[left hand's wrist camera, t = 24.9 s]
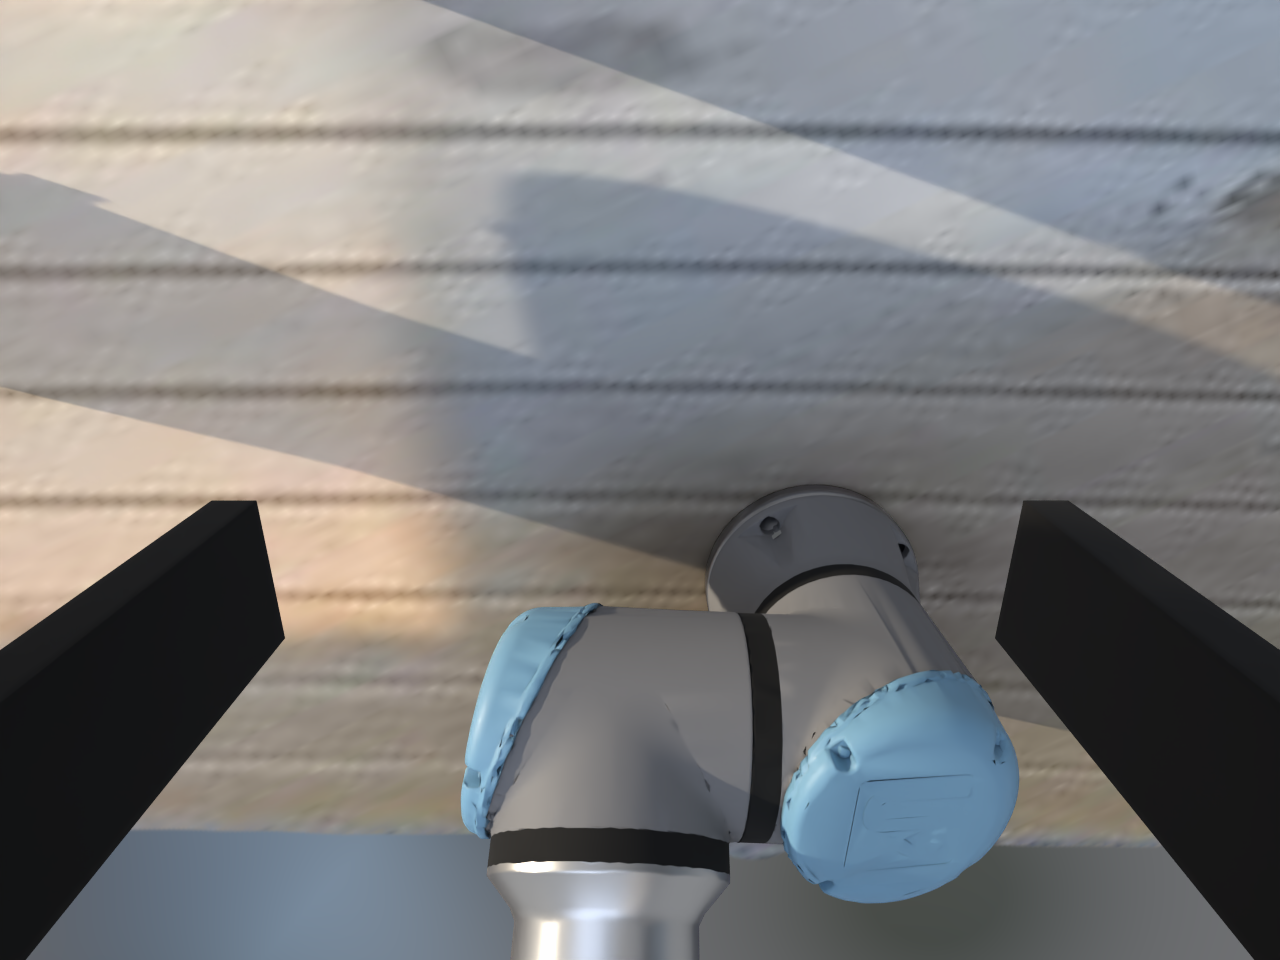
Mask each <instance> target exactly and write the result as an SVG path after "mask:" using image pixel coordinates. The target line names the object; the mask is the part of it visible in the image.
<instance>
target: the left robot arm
mask: <svg viewBox="0 0 1280 960" xmlns="http://www.w3.org/2000/svg"><path fill="white" fill-rule="evenodd" d="M705 592H706V599H707V605H708V610H709V611H689V610H667V609H647V608H627V607H608V606H603V605H601V604H600V603H592V604H589V605H586V606H585V607H539V608H534V609H531V610H528V611H526V612H524V613H522V614H521V615H519V616H518V617H517V618H516V619H515V620H514V621H512V623H511V624H510V625H509V627H508V628H507V629H506V631H505V632H504V633H503V635H502V637H501V638H500V640H499V642H498V644H497V646H496V648H495V651H494V653H493V655H492V657H491V660H490V663H489V665H488V668H487V671H486V674H485V677H484V680H483V683H482V686H481V689H480V692H479V696H478V700H477V703H476V707H475V711H474V715H473V720H472V724H471V728H470V733H469V738H468V743H467V749H466V755H465V764H466V765H467V768H466V771H465V775H464V780H463V784H462V791H461V812H462V818H463V822H464V824H465V825H466V827H467V828H468V830H469V831H470V832H473V833H475V834H477V835H478V836H479V837H480V838H481V839H490V838H491V843H490V851H489V859H488V868H487V877H488V878H489V879H490V881H491V882H492V884H493V885H494V886H495V888H496V889H497V890H498V892H499V893H500V895H501V896H502V897H503V899H504V900H505V902H506V903H507V904H508V906H509V907H510V910H511V912H512V915H513V918H514V930H513V941H512V950H511V960H699V925H700V923H701V921H702V919H703V917H704V914H705V913H706V912H707V911H708V909H709V908H710V907H711V906H712V904H713V903H714V902H715V901H716V900H717V898H718V897H719V896H720V895H721V894H722V892H723V891H724V890H725V889H726V888H727V886H728V885H729V884H730V864H729V843H730V842H738V843H740V842H744V843H769V844H783V845H784V850H785V851H786V852H787V853H788V857H789V858H790V859H791V860H792V862H793V864H794V865H795V866H796V868H797V869H798V871H799V872H800V873H801V874H802V876H803V877H804V878H805V879H806V880H807V881H809V882H810V883H812V884H819V886H820V888H821V890H822V891H823V892H824V893H826V894H828V895H831V896H833V897H836V898H838V899H842V900H846V901H854V902H859V903H886V902H894V901H900V900H904V899H909V898H912V897H916V896H919V895H921V894H924V893H927V892H930V891H932V890H934V889H937V888H939V887H940V886H942V885H944V884H946V883H948V882H950V881H952V880H954V879H955V878H957V877H958V876H959V874H960V873H961V872H962V871H964V870H965V869H966V868H968V867H969V866H971V865H973V864H974V863H976V862H977V861H979V860H980V859H981V858H982V857H983V856H984V855H985V854H986V853H987V852H988V851H989V850H990V849H991V847H992V846H993V845H994V844H995V842H996V841H997V840H998V838H999V837H1000V836H1001V834H1002V832H1003V831H1004V829H1005V827H1006V825H1007V823H1008V821H1009V820H1010V817H1011V815H1012V813H1013V810H1014V807H1015V803H1016V800H1017V795H1018V788H1019V769H1018V761H1017V757H1016V753H1015V750H1014V747H1013V745H1012V742H1011V740H1010V738H1009V736H1008V735H1007V733H1006V732H1005V730H1004V728H1003V726H1002V724H1001V722H1000V721H999V719H998V717H997V715H996V713H995V711H994V707H993V704H992V702H991V699H990V698H989V696H988V694H987V692H986V691H985V690H983V689H982V687H981V685H979V684H978V683H977V682H976V680H975V679H974V678H973V676H972V675H971V673H970V672H969V671H968V669H967V668H966V667H965V665H964V664H963V662H962V661H961V660H960V658H959V657H958V655H957V654H956V653H955V651H954V650H953V649H952V647H951V646H950V644H949V643H948V642H947V640H946V639H945V638H944V636H943V635H942V633H941V632H940V631H939V629H938V628H937V626H936V625H935V624H934V622H933V621H932V620H931V618H930V617H929V615H928V614H927V613H926V611H925V610H924V608H923V607H922V606H921V605H920V592H919V577H918V566H917V562H916V557H915V554H914V552H913V549H912V547H911V545H910V543H909V541H908V539H907V537H906V536H905V534H904V533H903V531H902V530H901V529H900V528H899V526H898V525H897V524H896V523H895V521H894V520H893V519H892V518H891V516H890V515H889V514H888V513H887V512H886V511H885V510H884V509H883V508H881V507H880V506H879V505H878V504H876V503H875V502H873V501H872V500H870V499H868V498H867V497H865V496H863V495H861V494H859V493H856V492H853V491H851V490H847V489H844V488H840V487H834V486H826V485H806V486H797V487H792V488H787V489H784V490H781V491H777V492H775V493H772V494H770V495H767V496H765V497H763V498H761V499H759V500H757V501H756V502H754V503H752V504H751V505H749V506H748V507H746V508H745V509H744V510H743V511H741V512H740V513H739V514H738V515H737V516H736V517H734V518H733V519H732V520H731V522H730V523H729V524H728V525H727V526H726V527H725V529H724V530H723V531H722V533H721V534H720V535H719V537H718V539H717V541H716V542H715V544H714V546H713V548H712V551H711V553H710V556H709V559H708V563H707V567H706V574H705ZM284 639H285V636H284V631H283V626H282V621H281V617H280V612H279V607H278V602H277V597H276V593H275V588H274V583H273V578H272V573H271V568H270V564H269V559H268V554H267V549H266V544H265V539H264V535H263V530H262V525H261V520H260V515H259V510H258V506H257V501H211V502H209V503H208V504H206V505H205V506H203V507H202V508H201V509H199V510H198V511H196V512H195V513H194V514H192V515H191V516H189V517H188V518H186V519H185V520H184V521H182V522H181V523H179V524H178V525H177V526H175V527H174V528H172V529H171V530H170V531H168V532H167V533H165V534H164V535H162V536H161V537H160V538H158V539H157V540H155V541H154V542H153V543H151V544H150V545H148V546H147V547H145V548H144V549H143V550H141V551H140V552H138V553H137V554H136V555H134V556H133V557H131V558H130V559H128V560H127V561H126V562H124V563H123V564H121V565H120V566H119V567H117V568H116V569H114V570H113V571H112V572H110V573H109V574H107V575H106V576H104V577H103V578H102V579H100V580H99V581H97V582H96V583H95V584H93V585H92V586H90V587H89V588H87V589H86V590H85V591H83V592H82V593H80V594H79V595H78V596H76V597H75V598H73V599H72V600H70V601H69V602H68V603H66V604H65V605H63V606H62V607H61V608H59V609H58V610H56V611H55V612H54V613H52V614H51V615H49V616H48V617H46V618H45V619H44V620H42V621H41V622H39V623H38V624H37V625H35V626H34V627H32V628H31V629H29V630H28V631H27V632H25V633H24V634H22V635H21V636H20V637H18V638H17V639H15V640H14V641H13V642H11V643H10V644H8V645H7V646H5V647H4V648H3V649H1V650H0V960H26V959H27V957H28V956H29V955H30V954H31V952H32V951H33V950H34V949H35V948H36V946H37V945H38V944H39V943H40V941H41V940H42V939H43V938H44V936H45V935H46V934H47V933H48V931H49V930H50V929H51V928H52V926H53V925H54V924H55V923H56V921H57V920H58V919H59V918H60V917H61V915H62V914H63V913H64V912H65V910H66V909H67V908H68V907H69V905H70V904H71V903H72V902H73V900H74V899H75V898H76V897H77V895H78V894H79V893H80V892H81V891H82V889H83V888H84V887H85V886H86V884H87V883H88V882H89V881H90V879H91V878H92V877H93V876H94V874H95V873H96V872H97V871H98V869H99V868H100V867H101V866H102V864H103V863H104V862H105V861H106V859H107V858H108V857H109V856H110V855H111V853H112V852H113V851H114V850H115V848H116V847H117V846H118V845H119V843H120V842H121V841H122V840H123V838H124V837H125V836H126V835H127V833H128V832H129V831H130V830H131V828H132V827H133V826H134V825H135V824H136V822H137V821H138V820H139V819H140V817H141V816H142V815H143V814H144V812H145V811H146V810H147V809H148V807H149V806H150V805H151V804H152V802H153V801H154V800H155V799H156V797H157V796H158V795H159V794H160V793H161V791H162V790H163V789H164V788H165V786H166V785H167V784H168V783H169V781H170V780H171V779H172V778H173V776H174V775H175V774H176V773H177V771H178V770H179V769H180V768H181V766H182V765H183V764H184V763H185V762H186V760H187V759H188V758H189V757H190V755H191V754H192V753H193V752H194V750H195V749H196V748H197V747H198V745H199V744H200V743H201V742H202V740H203V739H204V738H205V737H206V735H207V734H208V733H209V732H210V731H211V729H212V728H213V727H214V726H215V724H216V723H217V722H218V721H219V719H220V718H221V717H222V716H223V714H224V713H225V712H226V711H227V709H228V708H229V707H230V706H231V704H232V703H233V702H234V701H235V700H236V698H237V697H238V696H239V695H240V693H241V692H242V691H243V690H244V688H245V687H246V686H247V685H248V683H249V682H250V681H251V680H252V678H253V677H254V676H255V675H256V673H257V672H258V671H259V670H260V669H261V667H262V666H263V665H264V664H265V662H266V661H267V660H268V659H269V657H270V656H271V655H272V654H273V652H274V651H275V650H276V649H277V647H278V646H279V645H280V644H281V642H282V641H283V640H284ZM995 639H996V640H997V641H998V642H999V644H1000V645H1001V646H1002V647H1003V649H1004V650H1005V651H1006V652H1007V654H1008V655H1009V656H1010V657H1011V659H1012V660H1013V661H1014V662H1015V664H1016V665H1017V666H1018V667H1019V669H1020V670H1021V671H1022V672H1023V673H1024V675H1025V676H1026V677H1027V678H1028V680H1029V681H1030V682H1031V683H1032V685H1033V686H1034V687H1035V688H1036V690H1037V691H1038V692H1039V693H1040V695H1041V696H1042V697H1043V698H1044V700H1045V701H1046V702H1047V703H1048V704H1049V706H1050V707H1051V708H1052V709H1053V711H1054V712H1055V713H1056V714H1057V716H1058V717H1059V718H1060V719H1061V721H1062V722H1063V723H1064V724H1065V726H1066V727H1067V728H1068V729H1069V731H1070V732H1071V733H1072V734H1073V735H1074V737H1075V738H1076V739H1077V740H1078V742H1079V743H1080V744H1081V745H1082V747H1083V748H1084V749H1085V750H1086V752H1087V753H1088V754H1089V755H1090V757H1091V758H1092V759H1093V760H1094V762H1095V763H1096V764H1097V765H1098V766H1099V768H1100V769H1101V770H1102V771H1103V773H1104V774H1105V775H1106V776H1107V778H1108V779H1109V780H1110V781H1111V783H1112V784H1113V785H1114V786H1115V788H1116V789H1117V790H1118V791H1119V793H1120V794H1121V795H1122V796H1123V797H1124V799H1125V800H1126V801H1127V802H1128V804H1129V805H1130V806H1131V807H1132V809H1133V810H1134V811H1135V812H1136V814H1137V815H1138V816H1139V817H1140V819H1141V820H1142V821H1143V822H1144V824H1145V825H1146V826H1147V827H1148V828H1149V830H1150V831H1151V832H1152V833H1153V835H1154V836H1155V837H1156V838H1157V840H1158V841H1159V842H1160V843H1161V845H1162V846H1163V847H1164V848H1165V850H1166V851H1167V852H1168V853H1169V855H1170V856H1171V857H1172V858H1173V859H1174V861H1175V862H1176V863H1177V864H1178V866H1179V867H1180V868H1181V869H1182V871H1183V872H1184V873H1185V874H1186V876H1187V877H1188V878H1189V879H1190V881H1191V882H1192V883H1193V884H1194V886H1195V887H1196V888H1197V889H1198V891H1199V892H1200V893H1201V894H1202V895H1203V897H1204V898H1205V899H1206V900H1207V902H1208V903H1209V904H1210V905H1211V907H1212V908H1213V909H1214V910H1215V912H1216V913H1217V914H1218V915H1219V916H1220V918H1221V919H1222V920H1223V921H1224V923H1225V924H1226V925H1227V926H1228V928H1229V929H1230V930H1231V931H1232V933H1233V934H1234V935H1235V936H1236V938H1237V939H1238V940H1239V941H1240V943H1241V944H1242V945H1243V946H1244V948H1245V949H1246V950H1247V951H1248V953H1249V954H1250V955H1251V956H1252V957H1253V959H1254V960H1280V650H1279V649H1277V648H1276V647H1275V646H1273V645H1272V644H1270V643H1269V642H1267V641H1266V640H1265V639H1263V638H1262V637H1260V636H1259V635H1258V634H1256V633H1255V632H1253V631H1252V630H1251V629H1249V628H1248V627H1246V626H1245V625H1243V624H1242V623H1241V622H1239V621H1238V620H1236V619H1235V618H1234V617H1232V616H1231V615H1229V614H1228V613H1226V612H1225V611H1224V610H1222V609H1221V608H1219V607H1218V606H1217V605H1215V604H1214V603H1212V602H1211V601H1210V600H1208V599H1207V598H1205V597H1204V596H1202V595H1201V594H1200V593H1198V592H1197V591H1195V590H1194V589H1193V588H1191V587H1190V586H1188V585H1187V584H1185V583H1184V582H1183V581H1181V580H1180V579H1178V578H1177V577H1176V576H1174V575H1173V574H1171V573H1170V572H1168V571H1167V570H1166V569H1164V568H1163V567H1161V566H1160V565H1159V564H1157V563H1156V562H1154V561H1153V560H1152V559H1150V558H1149V557H1147V556H1146V555H1144V554H1143V553H1142V552H1140V551H1139V550H1137V549H1136V548H1135V547H1133V546H1132V545H1130V544H1129V543H1127V542H1126V541H1125V540H1123V539H1122V538H1120V537H1119V536H1118V535H1116V534H1115V533H1113V532H1112V531H1110V530H1109V529H1108V528H1106V527H1105V526H1103V525H1102V524H1101V523H1099V522H1098V521H1096V520H1095V519H1094V518H1092V517H1091V516H1089V515H1088V514H1086V513H1085V512H1084V511H1082V510H1081V509H1079V508H1078V507H1077V506H1075V505H1074V504H1072V503H1071V502H1069V501H1023V506H1022V510H1021V515H1020V520H1019V525H1018V530H1017V535H1016V539H1015V544H1014V549H1013V554H1012V559H1011V564H1010V568H1009V573H1008V578H1007V583H1006V588H1005V593H1004V597H1003V602H1002V607H1001V612H1000V617H999V621H998V626H997V631H996V636H995Z"/></svg>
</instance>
